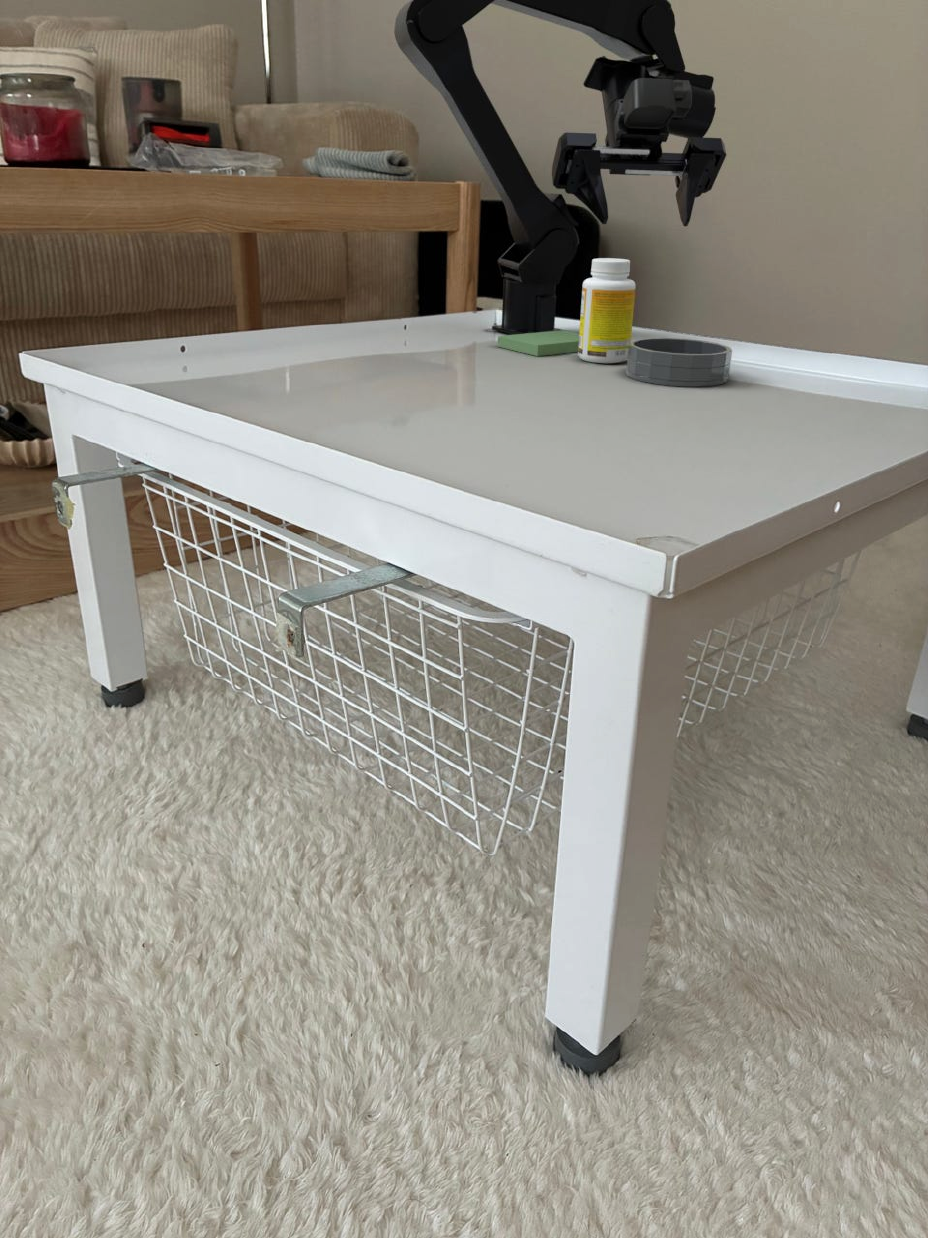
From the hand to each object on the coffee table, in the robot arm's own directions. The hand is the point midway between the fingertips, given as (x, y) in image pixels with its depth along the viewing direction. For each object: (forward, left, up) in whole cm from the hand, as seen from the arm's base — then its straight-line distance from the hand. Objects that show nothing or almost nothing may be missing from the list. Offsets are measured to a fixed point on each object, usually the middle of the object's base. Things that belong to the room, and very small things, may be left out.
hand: (646, 222), depth 104 cm
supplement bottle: (+3, -8, -14) cm, 16 cm away
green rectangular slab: (-5, -8, -14) cm, 17 cm away
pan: (+14, -8, -14) cm, 21 cm away
